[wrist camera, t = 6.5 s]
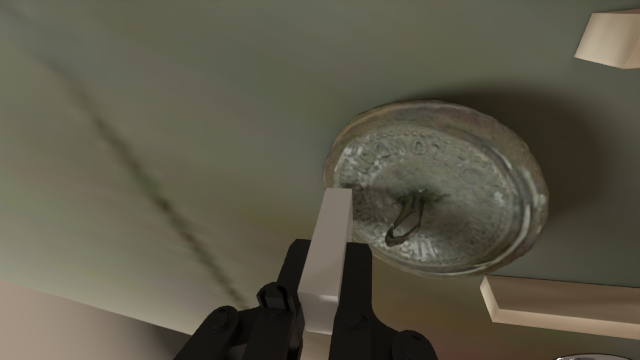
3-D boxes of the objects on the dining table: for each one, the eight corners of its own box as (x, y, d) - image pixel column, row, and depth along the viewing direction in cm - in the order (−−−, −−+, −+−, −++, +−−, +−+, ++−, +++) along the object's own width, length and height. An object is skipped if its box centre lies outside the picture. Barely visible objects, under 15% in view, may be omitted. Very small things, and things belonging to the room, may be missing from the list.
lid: (478, 248, 17) (511, 326, 13) (330, 237, 19) (317, 301, 15) (540, 81, 11) (637, 123, 7) (316, 90, 13) (289, 128, 9)
